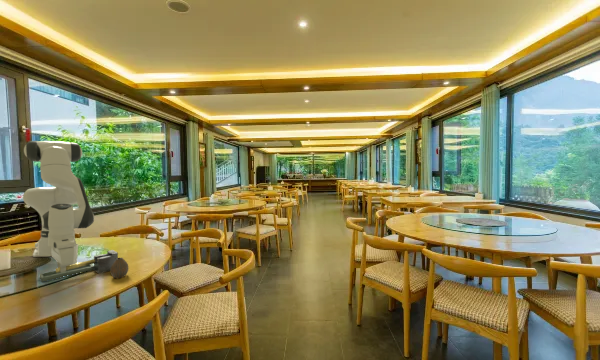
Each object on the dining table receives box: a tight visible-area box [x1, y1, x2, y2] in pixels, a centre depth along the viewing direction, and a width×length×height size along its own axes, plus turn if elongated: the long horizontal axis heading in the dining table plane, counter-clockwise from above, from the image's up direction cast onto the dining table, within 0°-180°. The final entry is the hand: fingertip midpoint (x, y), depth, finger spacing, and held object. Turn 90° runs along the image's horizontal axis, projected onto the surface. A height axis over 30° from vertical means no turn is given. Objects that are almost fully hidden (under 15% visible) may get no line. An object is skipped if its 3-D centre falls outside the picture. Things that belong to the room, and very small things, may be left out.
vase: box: [110, 257, 129, 279], centre depth 122 cm, size 7×7×9 cm
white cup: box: [67, 243, 79, 266], centre depth 136 cm, size 8×8×10 cm
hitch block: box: [93, 249, 119, 274], centre depth 131 cm, size 7×8×8 cm
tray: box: [38, 264, 95, 283], centre depth 124 cm, size 7×18×2 cm, turn 143°
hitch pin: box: [54, 258, 95, 273], centre depth 121 cm, size 14×2×2 cm, turn 143°
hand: (61, 270), depth 117 cm, fingers closed on hitch pin, 2 cm apart
